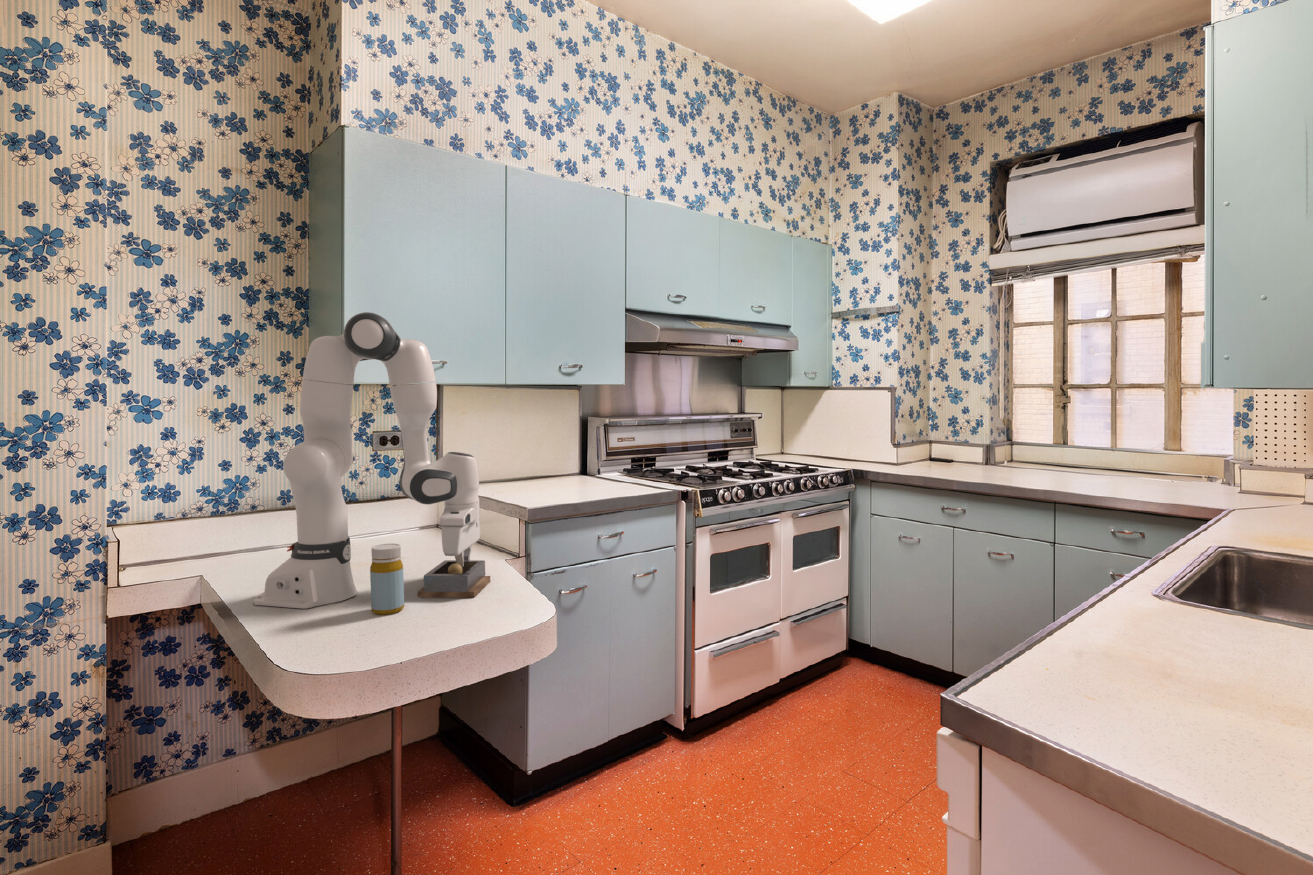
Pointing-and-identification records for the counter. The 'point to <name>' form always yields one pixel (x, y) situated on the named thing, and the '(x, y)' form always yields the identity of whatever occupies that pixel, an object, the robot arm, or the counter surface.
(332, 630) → the counter surface
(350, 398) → the robot arm
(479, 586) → the keeper
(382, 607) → the bottle
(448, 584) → the grey open tray
